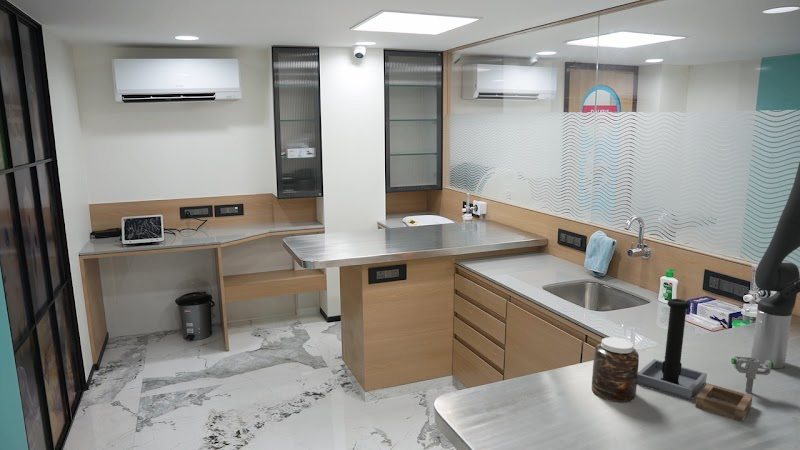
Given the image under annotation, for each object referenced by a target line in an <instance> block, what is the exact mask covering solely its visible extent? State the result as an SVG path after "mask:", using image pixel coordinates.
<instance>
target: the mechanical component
mask: <svg viewBox="0 0 800 450" xmlns="http://www.w3.org/2000/svg"><path fill="white" fill-rule="evenodd" d="M730 361H731V364H732V365H733V367H734V369H735V370H736V371H738V373H741V374H745V375H744V377H745V378H746V384H745V385H746V386H745V392H746V394H748V395H752V392H753V389H754V387H753V386H754V380H756V379H757V375H760V376H761V375H762V376H768V375H770V374H771V371H772V368H771V367H773V366H774V364H773V362H770V361H769V360H766V361H765V363H764V364H760V363H759V360H758V359H755V358H751V356H750V357H749V356H748V357H747V356H734V357H733V358H731V360H730Z"/></svg>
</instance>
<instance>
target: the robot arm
mask: <svg viewBox="0 0 800 450" xmlns="http://www.w3.org/2000/svg"><path fill="white" fill-rule="evenodd" d="M799 248H800V161H799V162H798V167H797V171H796V174H795V177H794V181H793V184H792V188H791V190H790V193H789V195H788V198H787V200H786V203H785V206H784V208H783V210H782V212H781V215H780V216H779V219H778V222H777V225H776V227H775V231H774V234H773V235H772V237H771V240H770V242H769V245H768V247H767V249H766V250H765V252H764V254H763V255H762V258H761V259H760V261H759V263H758V265H757V267H756V269H755V273H754V283H755V286H756V288H758V289H759V290H761V291H765V292H775V293H774V294H772V295H770V296H768V297H765V298H762V299H760V300H759V301H758V303H757V310H756V316H755V323H754V325H755V326H754V332H753V340H752V347H751V356H750V358H755V359H758V360H759V363H760V364H764V363H765V361H766V360H769V361H770V362H773V364H774V366H773V367H771V369H773V368H774V369H783V368H785V366H786V361H787V360H786V358H787V351H788V345H789V338H790V336H789V335H790V330H791V323H792V315H793V310H794V308H795V305H796V302H797V301H796V300H797V298H798V297H797V295H798V294H799V293H800V270H799V267H798V265H796V264H795V263H793V262H784V260H785V259H786V257H788V256H789V255H790V254H791V253H793V252H794V251H795V250H798V249H799Z"/></svg>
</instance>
